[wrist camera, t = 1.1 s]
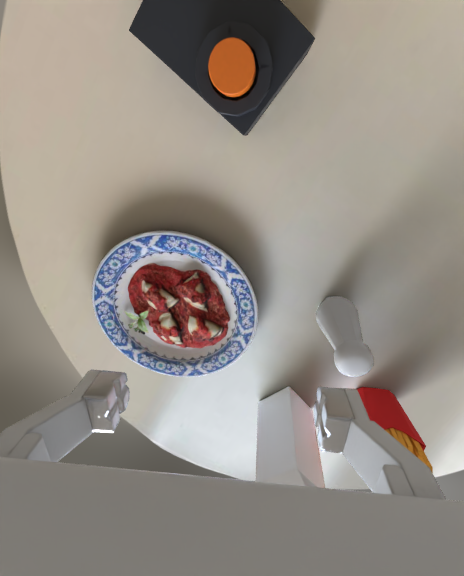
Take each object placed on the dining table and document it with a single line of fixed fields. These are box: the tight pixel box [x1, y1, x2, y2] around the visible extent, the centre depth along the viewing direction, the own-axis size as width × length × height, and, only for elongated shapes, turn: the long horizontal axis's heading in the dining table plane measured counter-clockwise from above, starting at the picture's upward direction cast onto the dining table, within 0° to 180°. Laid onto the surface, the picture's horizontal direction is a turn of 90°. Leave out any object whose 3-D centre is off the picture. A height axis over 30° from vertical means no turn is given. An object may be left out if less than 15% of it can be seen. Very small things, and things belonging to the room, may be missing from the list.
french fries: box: [356, 387, 433, 473], centre depth 47 cm, size 9×4×13 cm, turn 87°
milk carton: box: [256, 387, 325, 488], centre depth 47 cm, size 7×7×19 cm
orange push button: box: [208, 37, 256, 97], centre depth 27 cm, size 4×4×2 cm
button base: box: [129, 0, 315, 135], centre depth 29 cm, size 14×10×8 cm
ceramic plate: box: [92, 231, 258, 377], centre depth 47 cm, size 26×26×3 cm
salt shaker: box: [316, 296, 374, 377], centre depth 40 cm, size 6×6×13 cm
